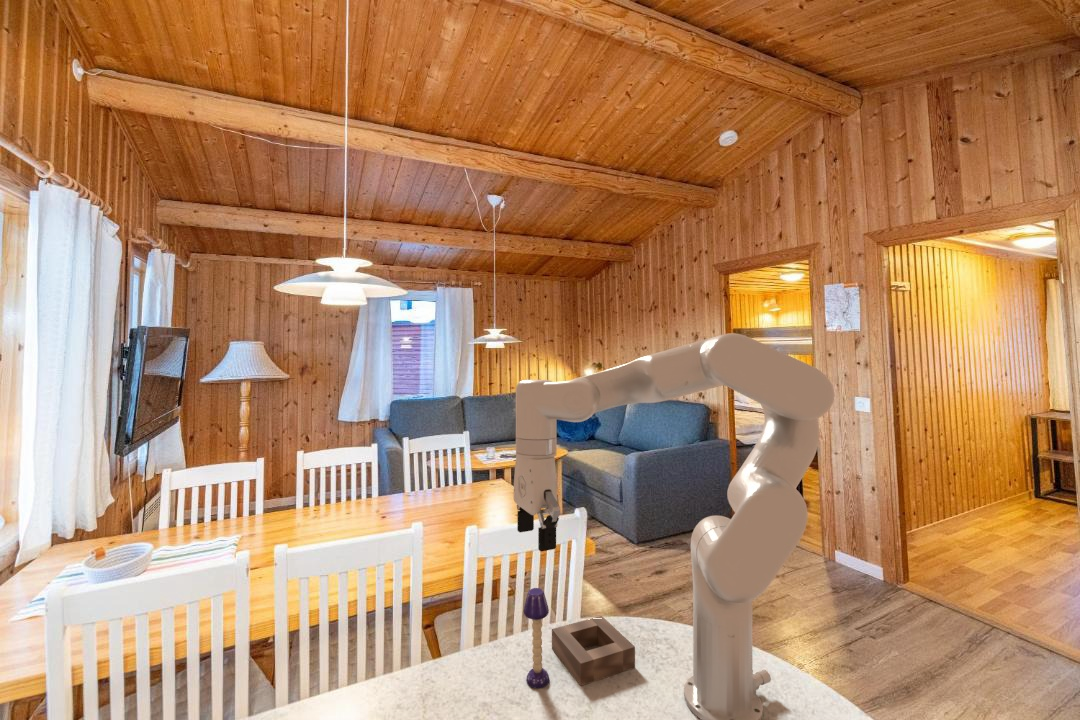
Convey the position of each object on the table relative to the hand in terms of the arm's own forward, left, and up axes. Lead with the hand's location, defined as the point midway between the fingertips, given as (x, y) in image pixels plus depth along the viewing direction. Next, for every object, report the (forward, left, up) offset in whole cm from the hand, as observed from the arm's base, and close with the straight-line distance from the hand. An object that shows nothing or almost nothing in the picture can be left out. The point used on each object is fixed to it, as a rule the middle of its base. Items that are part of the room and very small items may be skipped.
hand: (535, 539), depth 85 cm
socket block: (-13, -2, -26) cm, 29 cm away
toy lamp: (0, 0, -26) cm, 26 cm away
